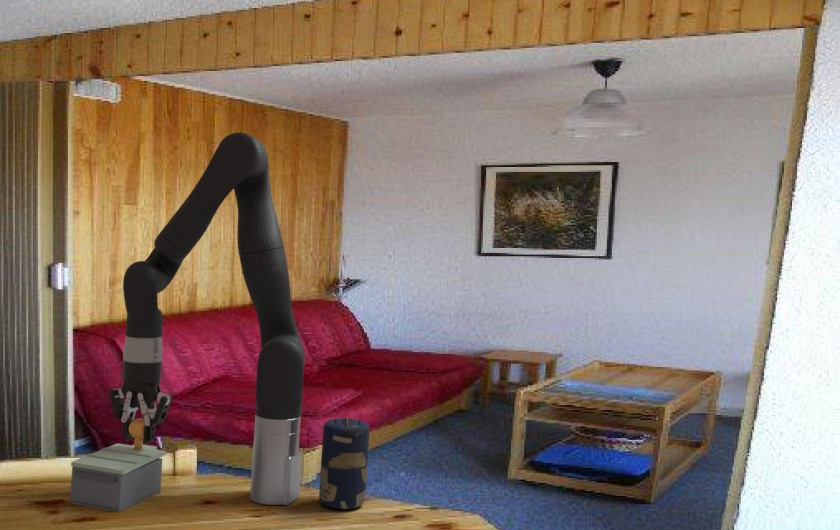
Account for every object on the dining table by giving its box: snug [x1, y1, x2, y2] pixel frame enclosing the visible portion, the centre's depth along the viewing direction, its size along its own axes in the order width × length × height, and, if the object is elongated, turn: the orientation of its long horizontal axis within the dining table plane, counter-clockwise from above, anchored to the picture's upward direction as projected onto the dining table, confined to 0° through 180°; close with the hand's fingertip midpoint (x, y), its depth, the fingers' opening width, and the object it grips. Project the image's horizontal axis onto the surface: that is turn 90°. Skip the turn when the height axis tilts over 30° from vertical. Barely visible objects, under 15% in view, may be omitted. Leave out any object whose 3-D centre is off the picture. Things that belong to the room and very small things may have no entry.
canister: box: [318, 416, 371, 510], centre depth 158 cm, size 10×10×18 cm
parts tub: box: [69, 457, 163, 513], centre depth 153 cm, size 11×14×7 cm
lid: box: [70, 417, 167, 475], centre depth 154 cm, size 12×15×7 cm
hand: (138, 441), depth 159 cm, fingers closed on lid, 4 cm apart
